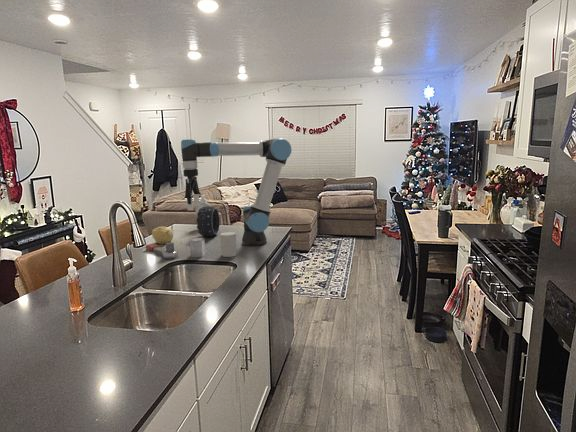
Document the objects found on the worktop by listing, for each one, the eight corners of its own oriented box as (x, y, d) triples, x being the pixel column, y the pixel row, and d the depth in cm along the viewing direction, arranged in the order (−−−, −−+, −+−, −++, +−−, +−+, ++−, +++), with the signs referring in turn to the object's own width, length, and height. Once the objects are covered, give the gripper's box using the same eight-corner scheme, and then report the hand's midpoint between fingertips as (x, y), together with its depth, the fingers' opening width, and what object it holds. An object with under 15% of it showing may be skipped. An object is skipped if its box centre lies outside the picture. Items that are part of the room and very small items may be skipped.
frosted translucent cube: (205, 253, 218) (204, 237, 216) (202, 256, 212) (201, 240, 210) (193, 253, 218) (192, 238, 217) (190, 257, 212) (189, 241, 210)
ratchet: (181, 256, 213) (179, 242, 211) (167, 260, 208) (166, 246, 206) (156, 247, 234) (154, 234, 233) (143, 250, 229) (141, 237, 227)
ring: (221, 232, 268) (219, 203, 264) (213, 239, 249) (210, 209, 245) (206, 232, 269) (204, 204, 265) (196, 239, 250) (194, 209, 246)
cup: (220, 254, 215) (218, 233, 213) (233, 251, 219) (232, 231, 217) (224, 257, 208) (223, 236, 206) (238, 255, 212) (237, 234, 210)
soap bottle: (216, 226, 287) (213, 194, 282) (212, 228, 279) (210, 195, 274) (199, 226, 288) (196, 194, 284) (195, 229, 281) (192, 196, 276)
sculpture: (150, 244, 242) (148, 228, 240) (161, 239, 253) (160, 223, 251) (166, 245, 238) (164, 228, 236) (177, 240, 250) (175, 224, 248)
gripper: (189, 167, 218) (192, 204, 222) (176, 170, 194) (180, 212, 198) (202, 166, 218) (205, 203, 222) (191, 170, 194) (194, 211, 198)
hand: (193, 208), depth 210 cm, fingers open, 13 cm apart
